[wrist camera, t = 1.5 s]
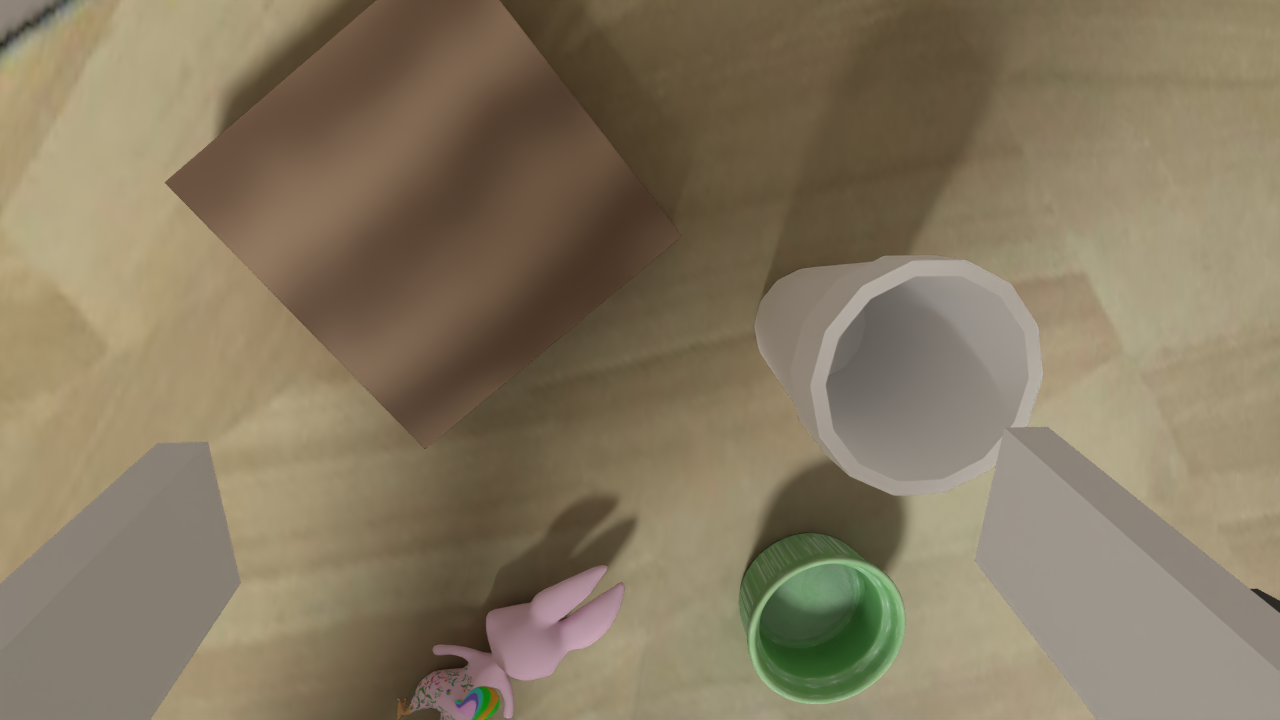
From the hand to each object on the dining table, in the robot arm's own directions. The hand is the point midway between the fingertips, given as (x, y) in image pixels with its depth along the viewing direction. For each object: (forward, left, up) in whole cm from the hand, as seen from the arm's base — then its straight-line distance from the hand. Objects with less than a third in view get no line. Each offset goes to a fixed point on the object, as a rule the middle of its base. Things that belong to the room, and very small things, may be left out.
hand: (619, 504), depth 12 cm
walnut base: (+7, +2, -27) cm, 28 cm away
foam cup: (-10, -9, -27) cm, 31 cm away
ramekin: (-23, +1, -28) cm, 36 cm away
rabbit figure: (-13, +15, -28) cm, 34 cm away
